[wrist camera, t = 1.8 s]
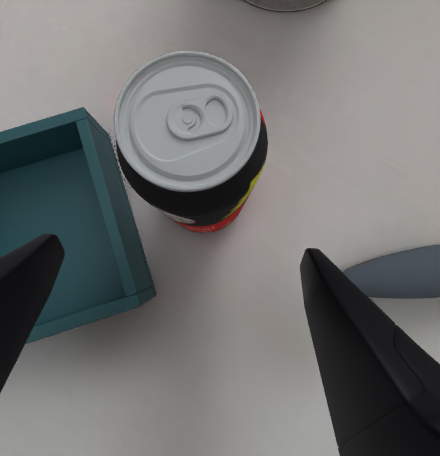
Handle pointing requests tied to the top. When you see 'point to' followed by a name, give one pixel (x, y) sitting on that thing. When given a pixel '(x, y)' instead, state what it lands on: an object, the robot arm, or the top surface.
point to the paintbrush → (400, 274)
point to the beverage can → (191, 138)
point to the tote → (73, 218)
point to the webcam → (285, 4)
